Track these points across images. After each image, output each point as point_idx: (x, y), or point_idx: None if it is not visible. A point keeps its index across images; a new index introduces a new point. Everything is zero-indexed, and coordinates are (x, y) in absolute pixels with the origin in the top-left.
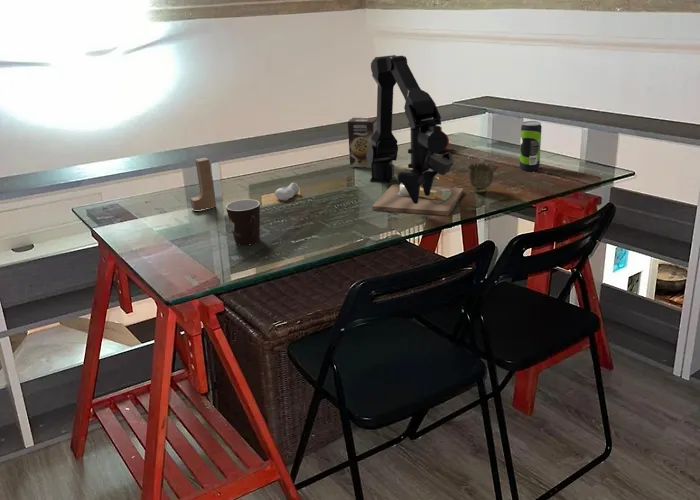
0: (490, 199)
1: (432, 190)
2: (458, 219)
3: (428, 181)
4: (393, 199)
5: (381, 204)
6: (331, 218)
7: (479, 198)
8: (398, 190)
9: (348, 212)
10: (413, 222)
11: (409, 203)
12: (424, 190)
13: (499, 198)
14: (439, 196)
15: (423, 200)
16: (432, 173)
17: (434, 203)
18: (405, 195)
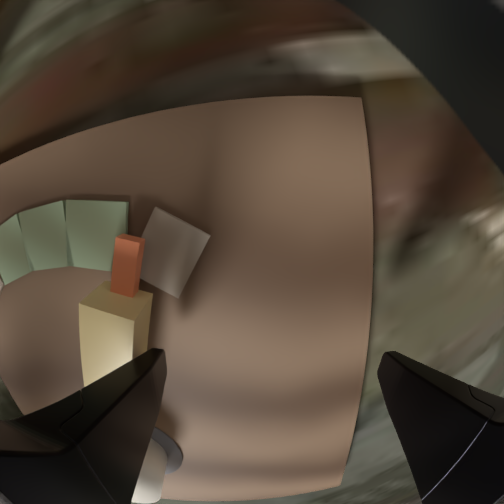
0: (23, 21)
1: (90, 347)
2: (382, 42)
3: (110, 446)
4: (235, 473)
5: (316, 477)
6: (406, 486)
7: (9, 68)
8: None
9: (362, 492)
10: (469, 276)
11: (272, 409)
12: (158, 406)
13: (16, 4)
14: (116, 259)
15: (183, 359)
16: (36, 499)
17: (218, 262)
18: (165, 452)
